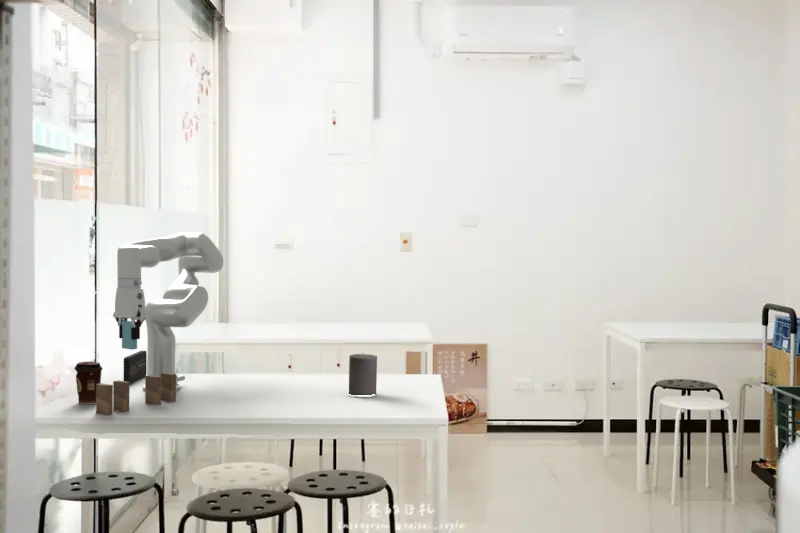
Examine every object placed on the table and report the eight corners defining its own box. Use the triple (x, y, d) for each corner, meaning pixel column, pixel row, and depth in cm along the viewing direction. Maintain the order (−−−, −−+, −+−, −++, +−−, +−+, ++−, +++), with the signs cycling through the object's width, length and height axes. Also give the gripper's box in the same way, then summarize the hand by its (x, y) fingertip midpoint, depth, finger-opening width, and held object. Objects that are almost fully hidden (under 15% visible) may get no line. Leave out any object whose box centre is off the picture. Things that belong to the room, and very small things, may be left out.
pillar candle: (343, 396, 306) (344, 352, 306) (357, 391, 315) (358, 349, 314) (367, 399, 302) (368, 355, 301) (381, 394, 310) (382, 351, 310)
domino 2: (126, 347, 298) (126, 320, 297) (137, 348, 295) (137, 321, 295) (121, 348, 296) (121, 321, 296) (132, 349, 293) (132, 322, 293)
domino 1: (118, 409, 279) (118, 380, 279) (129, 410, 276) (129, 381, 276) (113, 410, 277) (113, 381, 277) (124, 411, 275) (124, 382, 274)
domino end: (165, 399, 295) (165, 372, 295) (175, 401, 293) (176, 373, 293) (160, 400, 294) (160, 373, 293) (171, 402, 291) (171, 374, 291)
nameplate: (141, 376, 342) (141, 350, 342) (146, 376, 342) (146, 350, 342) (123, 385, 321) (123, 358, 321) (128, 385, 321) (128, 358, 321)
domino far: (101, 412, 273) (101, 383, 273) (112, 414, 271) (112, 384, 270) (96, 413, 272) (96, 384, 271) (107, 415, 269) (107, 385, 269)
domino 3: (150, 402, 290) (150, 375, 290) (161, 404, 287) (161, 376, 287) (145, 403, 288) (145, 375, 288) (156, 405, 286) (156, 377, 285)
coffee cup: (71, 405, 283) (71, 364, 283) (76, 400, 291) (76, 361, 291) (100, 404, 285) (100, 364, 284) (104, 400, 293) (104, 360, 292)
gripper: (156, 284, 293) (156, 339, 294) (120, 282, 302) (120, 335, 303) (138, 285, 287) (138, 341, 288) (102, 283, 296) (102, 337, 297)
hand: (129, 338), depth 295 cm, fingers closed on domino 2, 4 cm apart
